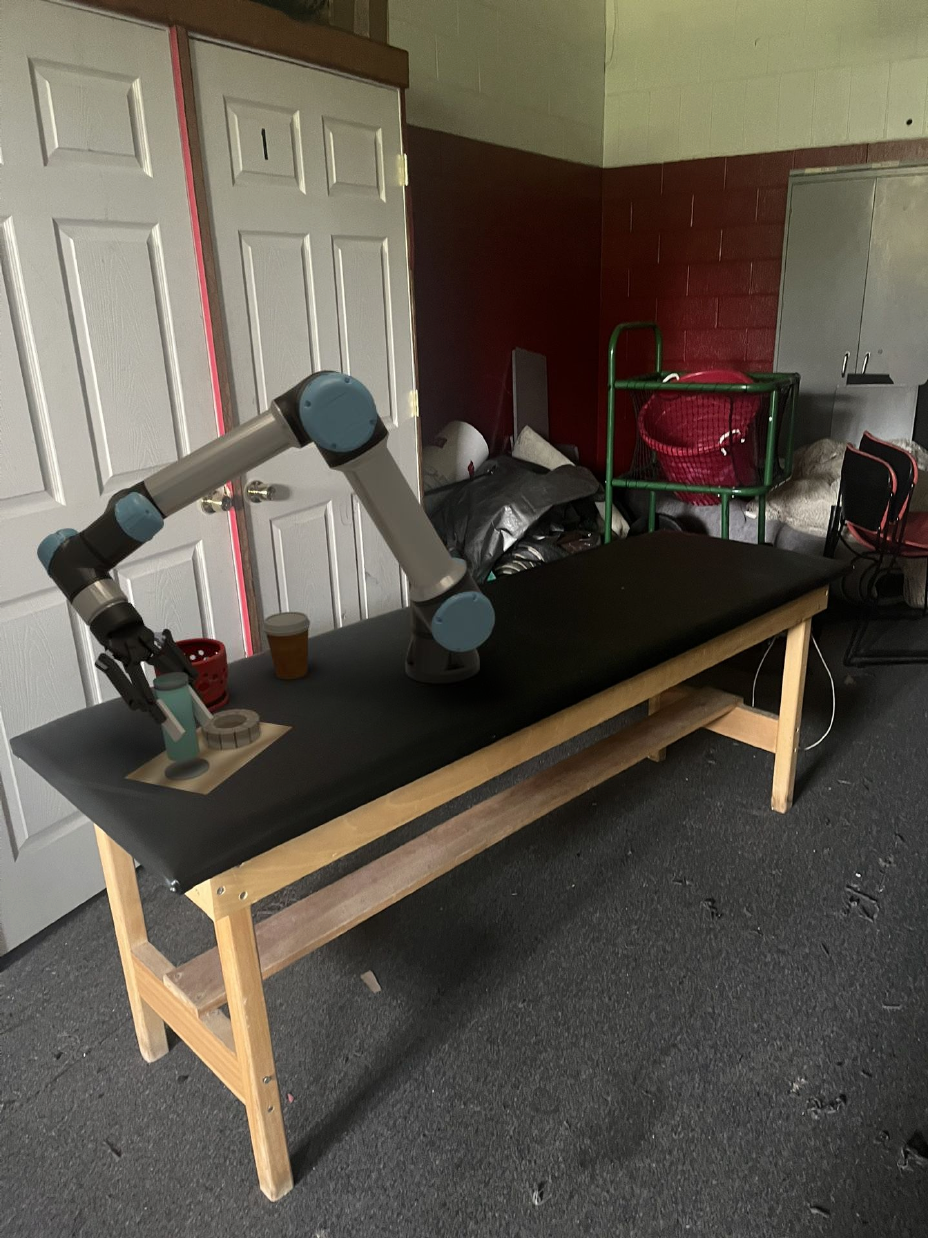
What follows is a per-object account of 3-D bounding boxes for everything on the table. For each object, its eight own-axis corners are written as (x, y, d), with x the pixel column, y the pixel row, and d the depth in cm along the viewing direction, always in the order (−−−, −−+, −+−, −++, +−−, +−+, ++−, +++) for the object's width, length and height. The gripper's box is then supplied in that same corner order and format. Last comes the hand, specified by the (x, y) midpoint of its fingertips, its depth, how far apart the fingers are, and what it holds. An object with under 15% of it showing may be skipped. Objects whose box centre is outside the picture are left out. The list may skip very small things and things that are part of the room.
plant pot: (152, 707, 169) (142, 648, 165) (218, 688, 176) (210, 632, 172) (175, 731, 158) (164, 669, 154) (244, 710, 166) (236, 650, 162)
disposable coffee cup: (259, 680, 179) (252, 624, 175) (284, 662, 187) (277, 609, 183) (300, 685, 176) (294, 628, 172) (323, 667, 184) (318, 612, 180)
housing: (292, 732, 156) (290, 711, 155) (207, 800, 135) (203, 777, 134) (218, 720, 162) (215, 700, 160) (125, 783, 141) (120, 761, 140)
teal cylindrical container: (207, 749, 142) (194, 674, 138) (184, 763, 138) (170, 686, 134) (183, 744, 145) (170, 670, 141) (159, 758, 140) (145, 682, 136)
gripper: (146, 611, 150) (227, 719, 147) (51, 645, 136) (138, 765, 133) (163, 585, 146) (246, 696, 143) (66, 618, 131) (156, 741, 128)
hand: (194, 729), depth 138 cm, fingers closed on teal cylindrical container, 5 cm apart
